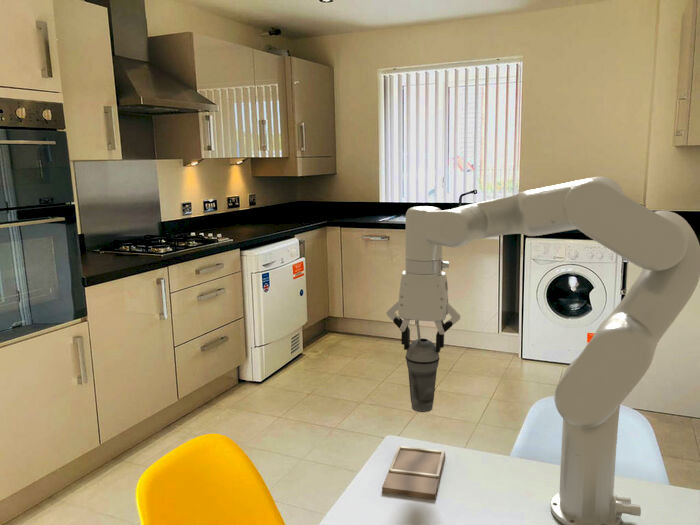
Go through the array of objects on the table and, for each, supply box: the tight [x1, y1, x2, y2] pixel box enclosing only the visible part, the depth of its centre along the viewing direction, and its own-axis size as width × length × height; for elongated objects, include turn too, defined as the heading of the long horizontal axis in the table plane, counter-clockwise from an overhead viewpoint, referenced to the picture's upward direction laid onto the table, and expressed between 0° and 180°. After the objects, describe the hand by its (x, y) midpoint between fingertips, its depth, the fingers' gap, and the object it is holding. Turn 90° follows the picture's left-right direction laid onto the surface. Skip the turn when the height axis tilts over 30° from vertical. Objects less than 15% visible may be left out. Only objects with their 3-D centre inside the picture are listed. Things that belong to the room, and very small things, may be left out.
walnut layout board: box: [381, 445, 446, 500], centre depth 128 cm, size 11×17×2 cm, turn 164°
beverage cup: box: [405, 320, 441, 413], centre depth 126 cm, size 7×7×20 cm
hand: (422, 348), depth 125 cm, fingers closed on beverage cup, 6 cm apart
